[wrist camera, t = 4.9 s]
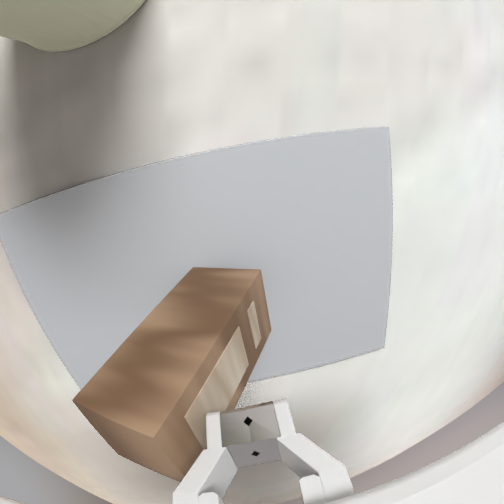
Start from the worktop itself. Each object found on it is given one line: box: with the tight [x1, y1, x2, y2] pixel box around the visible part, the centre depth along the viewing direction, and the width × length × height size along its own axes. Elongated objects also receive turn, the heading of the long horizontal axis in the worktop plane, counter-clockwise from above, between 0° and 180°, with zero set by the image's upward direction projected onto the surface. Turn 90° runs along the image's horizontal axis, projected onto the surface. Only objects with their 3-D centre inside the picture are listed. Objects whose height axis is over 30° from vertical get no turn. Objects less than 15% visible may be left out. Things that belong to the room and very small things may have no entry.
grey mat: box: [0, 126, 393, 390], centre depth 19 cm, size 24×16×1 cm, turn 100°
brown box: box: [72, 267, 271, 482], centre depth 14 cm, size 4×4×10 cm
